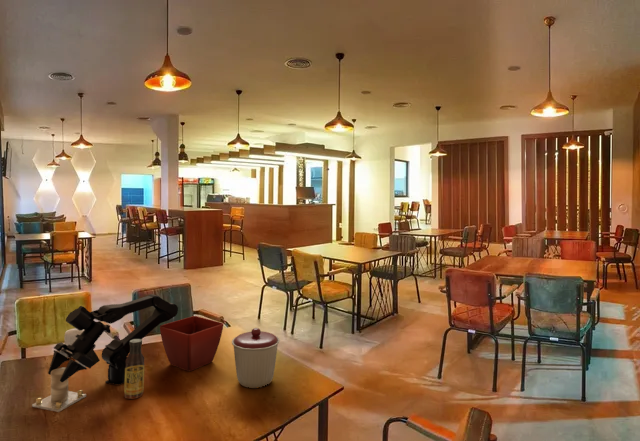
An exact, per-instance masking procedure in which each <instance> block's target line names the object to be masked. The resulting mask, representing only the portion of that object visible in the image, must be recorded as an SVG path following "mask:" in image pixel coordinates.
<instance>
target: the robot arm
mask: <svg viewBox="0 0 640 441" xmlns="http://www.w3.org/2000/svg"><path fill="white" fill-rule="evenodd" d="M151 307H152V308H154V310H153V313H152V314H151V315H150V316H149V317H148V318H147V319H146V320H145V321H143V322H142V323H141V324H139V325H138V326H137V327H136V328H134V329H133V330H132V331H131V332H130V333H128V334H127V335H125V337H124V338H122V339H120V340H119V339H116V338H114V339H113V340H111V341H110V342H109V343H108V344H105V345H104V348H103V349H102V350H101V358H102V360H103V361H105V363H106V364H107V365H108V368H107V380H105V384H110V385H111V384H112V385H117V386H119V385H122V384H125V367H126V359H127V357H128V355H129V352H130V345H129V343H130V340H133V339H141V340H143V339H144V338H145V337H146V336H148V335H149V333H151V332H152V331H153V330H154V329H156V328H157V327H158V326H160V325H161V324H162V323H163V324H164V323H165V322H168V321H170V320H171V319H173V318H175V317H176V316H177V315H178V312H179V307H178V305H177V304H176V303H172V302H169V301H167V300H165V299H164V298H161V297H160V296H159V295H156V294H148V295H146V296H144V297H140V298H137V299H133V300H130V301H126V302H123V303H117V304H115V303H113V304H104V305H101V306H100V307H99V308H98V309H96V310H95V309H94V310H93V311H89V310H88V309H87V307H84V306H83V305H80V306H79V307H77V308H75V309H73V310H72V311H70V312H68V315H67V316H66V318H65V322H66V323H68V324H69V325H70V326H72V327H73V328H74V329H75V328H76V329H78V330H79V331H81V330H84V331H83V332H82V333H81V334H80V335H78V334H77V335H76V337H77V339H76V340H75V341H74V343H73V344H72V345H68V346H67V345H65V343H63V342H58V343H56V345H55V346H53V355H52V359H51V363H50V365H49V369H48V371H47V374H48V375H50V376H51V371H52V370H54V369H57V368H61V366H62V365H63V364H64V363H65V362H68V363H67V364H66V367H65V368H66V369H65V371H64V373H63V375H62V377H61V379H60V381H61V382H64V381H65V380H66V379H68V380H69V378H71V377H72V376H73V375H74V374H77V373H78V372H79V371H83V370H88V369H92V367H93V366H95V365H96V364H98V363H99V362H100V358H99V357H98V355H97V353H96V351H95V350H94V349H96V342H97V341H98V340H99V338H100V337H101V336H102V334H103V333H104V332H105V333H107V334H110V333H111V325H109V324H114V323H116V322H118V321H120V320H122V319H123V318H124V317H125V316H127V315H129V314H133V313H136V312H138V311H141V310H145V309H148V308H151ZM95 320H96V321H95ZM103 322H104V323H106V324H104V323H103ZM67 357H69V358H67Z"/></svg>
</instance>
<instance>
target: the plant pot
mask: <svg viewBox="0 0 640 441" xmlns="http://www.w3.org/2000/svg"><path fill="white" fill-rule="evenodd" d="M223 330H224V323H223V322H219V321H217V320H216V321H215V320H213V319H209V318H205V317H201V316H197V315H192V316H188V317H185V318H182V319H178V320H175V321H171V322H168V323H163V324H159V332H160V338H161V342H162V346H163V349H164V352H165V354H166V356H167V360H168V362H169V364H170V365H172V366H173V367H176V368H179V369H182V370H184V371H186V372H191V371H194V370H197V369H199V368H202V367H204V366H206V365H208V364H211V363H213V360H214V359H215V356H216V353H217V350H218V347H219V344H220V342H221V337H222V334H223Z"/></svg>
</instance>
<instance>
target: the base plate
mask: <svg viewBox="0 0 640 441" xmlns="http://www.w3.org/2000/svg"><path fill="white" fill-rule="evenodd" d="M86 397H87V393H84V390H83V389H78V390H77V391H70V390H68V399H67V400H65V401H63V402H62V401H58V402H56V403H52V402H51V394H50V395H48V396H47V397H44V398H42V397H36V398H35V402H34V403H32V404H31V405H32V408H36V409H37V408H38V409H41V410H47V411H52V412H56V413H60V412H61V411H63V410H65V409H67V408H68V407H70V406H72V405H73V404H75V403H77V402H79V401H81V400H83V399H84V398H86Z"/></svg>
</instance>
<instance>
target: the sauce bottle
mask: <svg viewBox="0 0 640 441" xmlns="http://www.w3.org/2000/svg"><path fill="white" fill-rule="evenodd" d="M142 344H143V339H133V340H130V343H129V345H130V352H129V354H128V356H127V359H126V367H125V382H124V386H123V387H124V388H123V390H124V391H123V392H124V398H125V399H127V400H134V399H135V400H136V399H138V398H141V397H142V396H143V394H144V386H145V385H144V383H145V356H144V355H143V353H142Z"/></svg>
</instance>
